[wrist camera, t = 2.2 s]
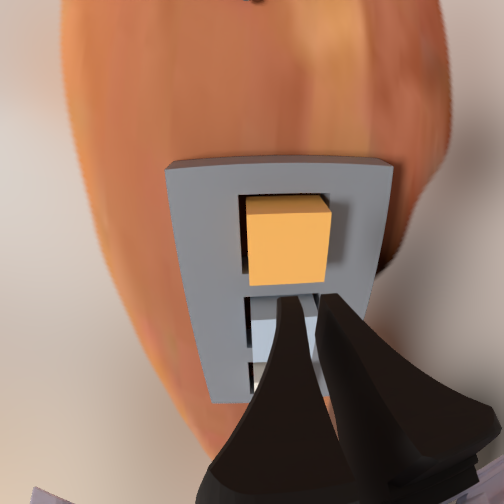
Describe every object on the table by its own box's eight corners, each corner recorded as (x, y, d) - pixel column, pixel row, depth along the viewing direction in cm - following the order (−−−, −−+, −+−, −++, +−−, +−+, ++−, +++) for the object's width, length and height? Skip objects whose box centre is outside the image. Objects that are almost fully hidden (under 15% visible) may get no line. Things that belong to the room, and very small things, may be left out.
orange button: (314, 257, 17) (324, 282, 15) (248, 260, 17) (249, 285, 15) (319, 195, 15) (331, 212, 13) (245, 196, 15) (246, 214, 13)
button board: (334, 378, 26) (338, 394, 24) (213, 386, 26) (212, 403, 24) (378, 158, 15) (393, 166, 14) (173, 161, 15) (164, 169, 14)
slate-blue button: (305, 332, 21) (311, 358, 18) (252, 336, 21) (253, 362, 18) (311, 290, 19) (319, 315, 16) (249, 293, 19) (250, 320, 16)
